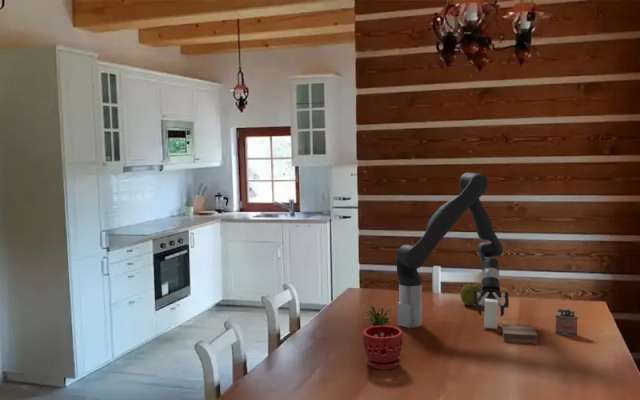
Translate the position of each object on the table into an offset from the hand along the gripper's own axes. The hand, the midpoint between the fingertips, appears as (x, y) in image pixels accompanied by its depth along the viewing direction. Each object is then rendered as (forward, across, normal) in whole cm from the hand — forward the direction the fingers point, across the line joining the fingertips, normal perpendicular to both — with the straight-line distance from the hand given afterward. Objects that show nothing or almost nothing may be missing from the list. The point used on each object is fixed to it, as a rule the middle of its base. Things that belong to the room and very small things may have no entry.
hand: (491, 315), depth 248 cm
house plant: (+26, -42, -18) cm, 53 cm away
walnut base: (+12, +10, -5) cm, 16 cm away
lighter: (+6, +28, +1) cm, 29 cm away
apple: (-21, -8, +29) cm, 36 cm away
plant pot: (+41, -36, -33) cm, 64 cm away
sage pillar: (+3, 0, +5) cm, 5 cm away
